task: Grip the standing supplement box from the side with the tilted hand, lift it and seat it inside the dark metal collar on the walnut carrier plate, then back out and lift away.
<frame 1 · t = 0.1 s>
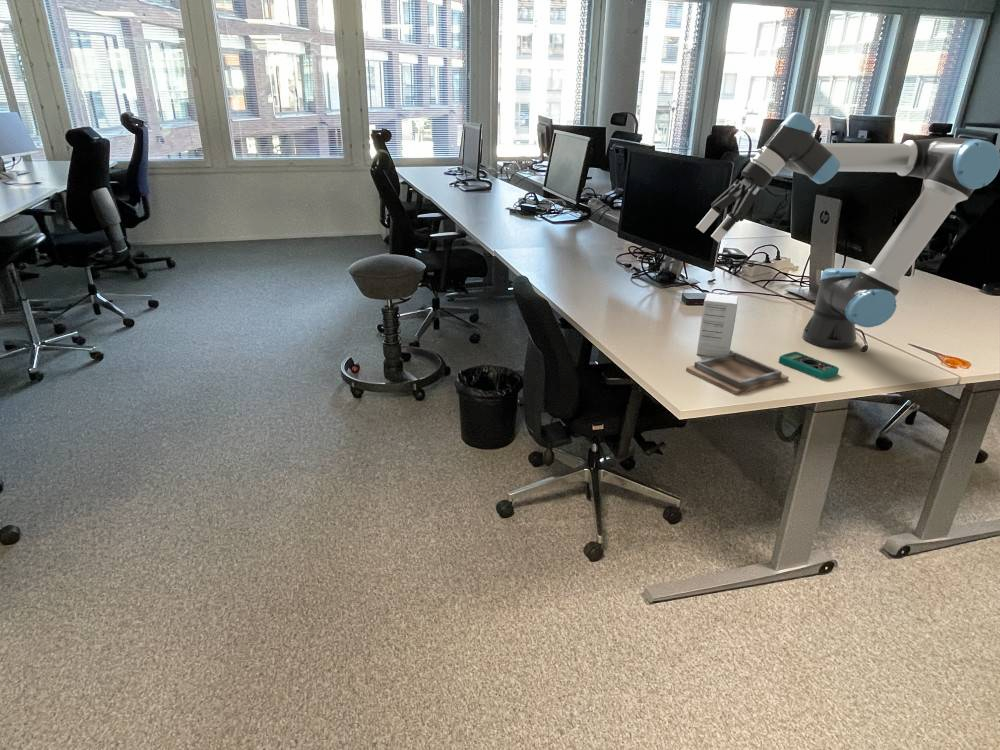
hand: (706, 234, 174), 36 cm above the table, tool tilted 35°, fingers open, 13 cm apart
digital multimeter: (806, 370, 180), on the table
carrier plate: (736, 375, 175), on the table
supplement box: (713, 352, 191), on the table
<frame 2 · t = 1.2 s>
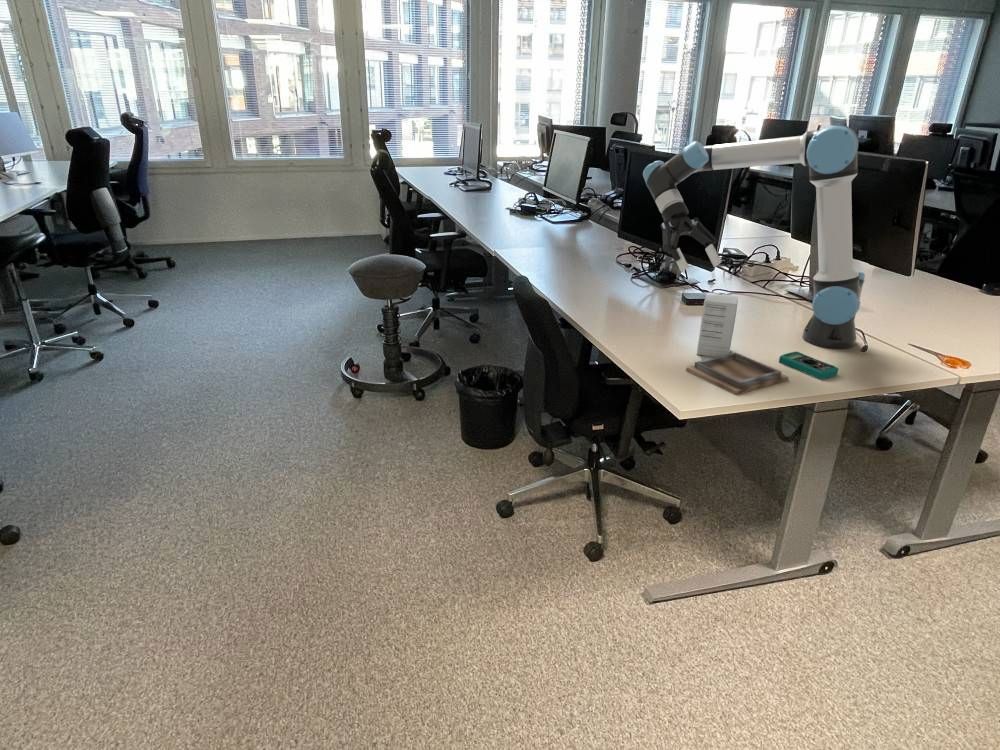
hand: (701, 267, 189), 24 cm above the table, tool tilted 45°, fingers open, 13 cm apart
nothing on the table moved.
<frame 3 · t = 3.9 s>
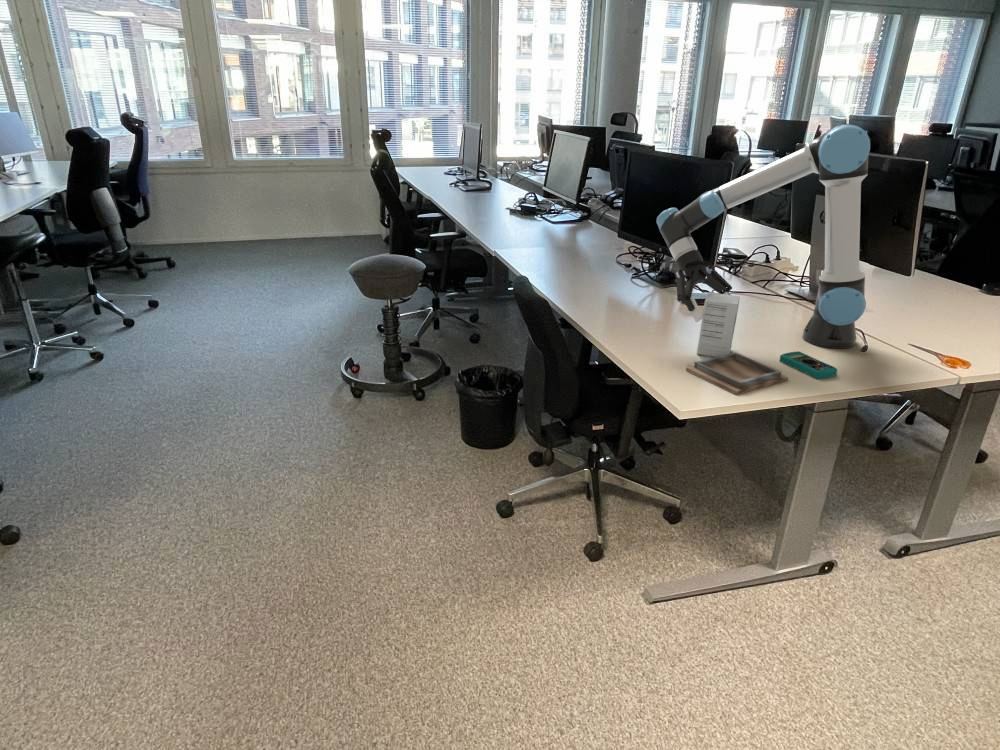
hand: (716, 316, 187), 11 cm above the table, tool tilted 45°, fingers open, 13 cm apart
supplement box: (713, 352, 191), on the table, touching gripper
everything else where it was.
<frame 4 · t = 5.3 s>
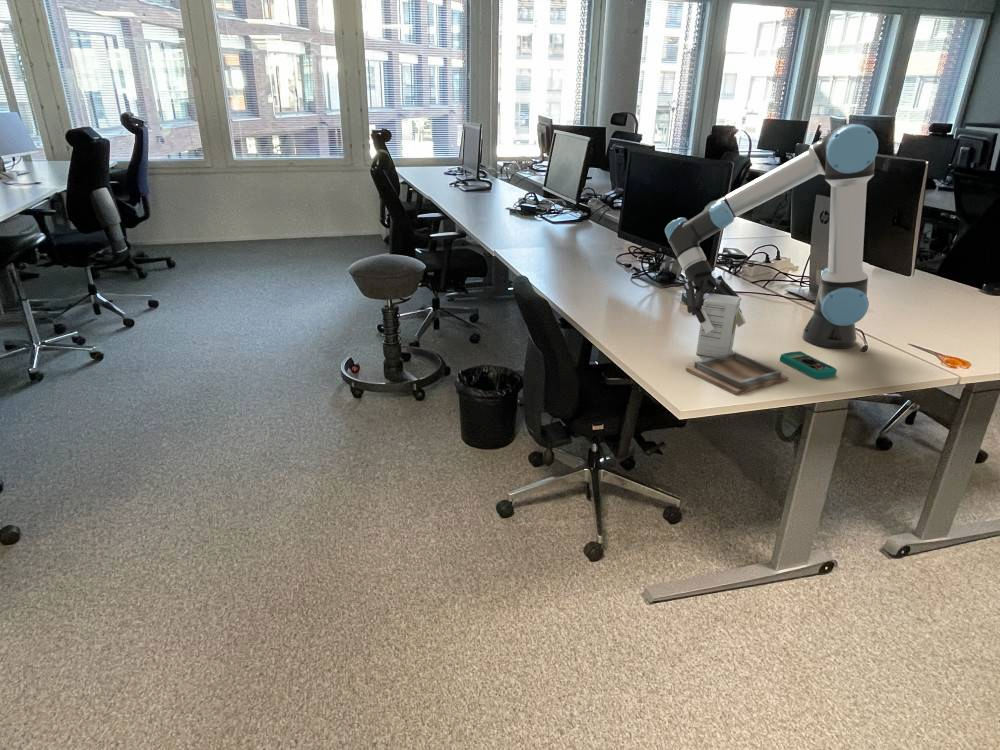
hand: (726, 328, 185), 9 cm above the table, tool tilted 45°, fingers closed on supplement box, 12 cm apart
supplement box: (714, 352, 191), on the table, touching gripper
everything else where it was.
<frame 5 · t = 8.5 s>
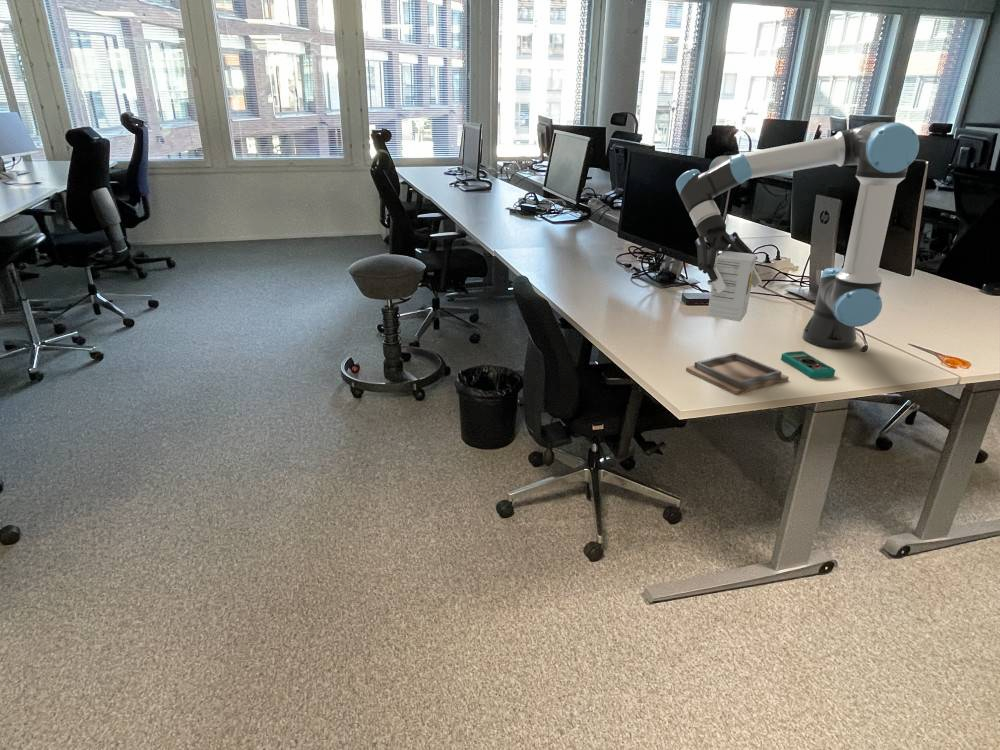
hand: (740, 287, 171), 23 cm above the table, tool tilted 45°, fingers closed on supplement box, 12 cm apart
supplement box: (726, 315, 177), point 14 cm above the table, touching gripper
when the fingers open (12 cm above the table, at t = 11.9 s): supplement box drops 2 cm, resting on carrier plate.
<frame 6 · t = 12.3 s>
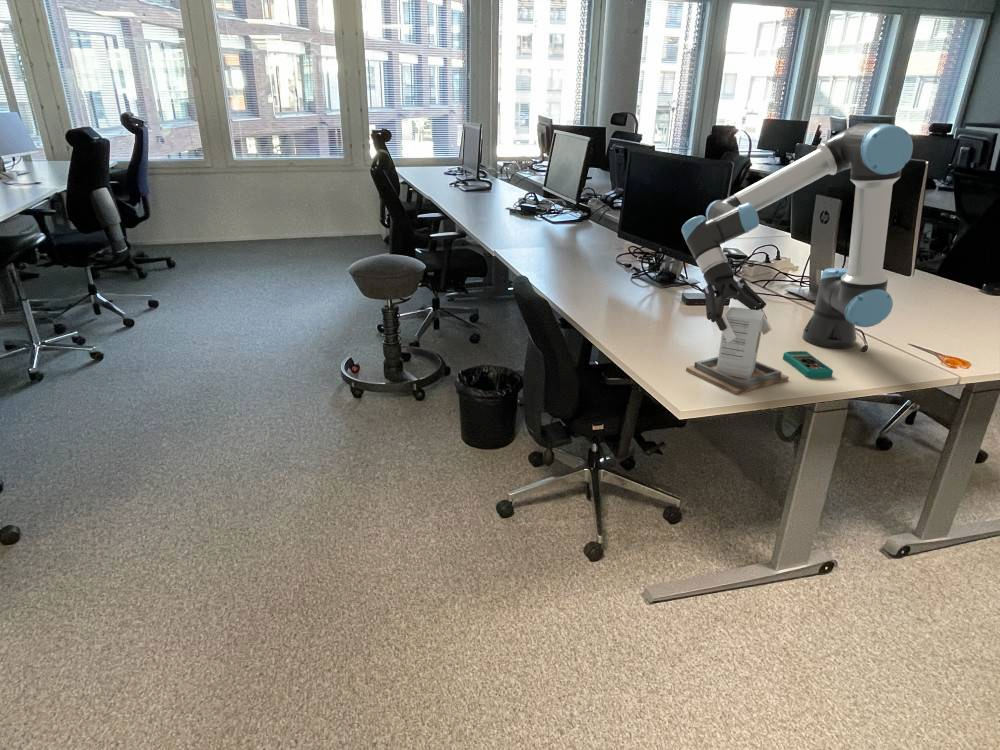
hand: (750, 336, 168), 12 cm above the table, tool tilted 45°, fingers open, 13 cm apart
supplement box: (735, 371, 175), point 1 cm above the table, touching carrier plate, gripper
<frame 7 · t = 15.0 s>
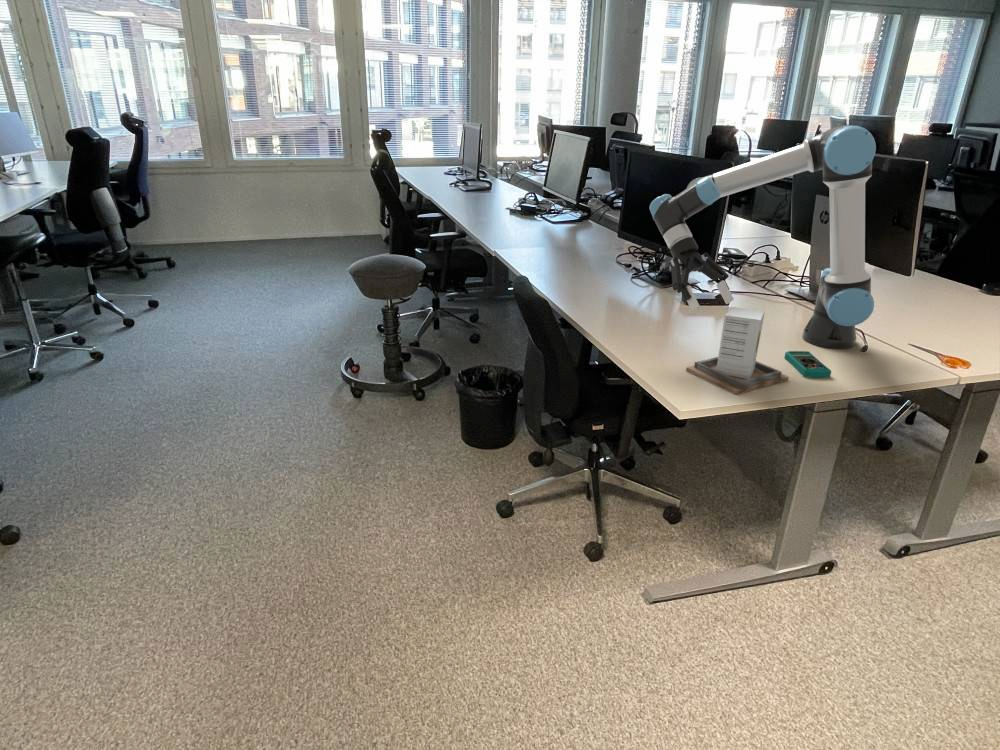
hand: (713, 305, 180), 16 cm above the table, tool tilted 45°, fingers open, 13 cm apart
supplement box: (735, 371, 175), point 1 cm above the table, touching carrier plate
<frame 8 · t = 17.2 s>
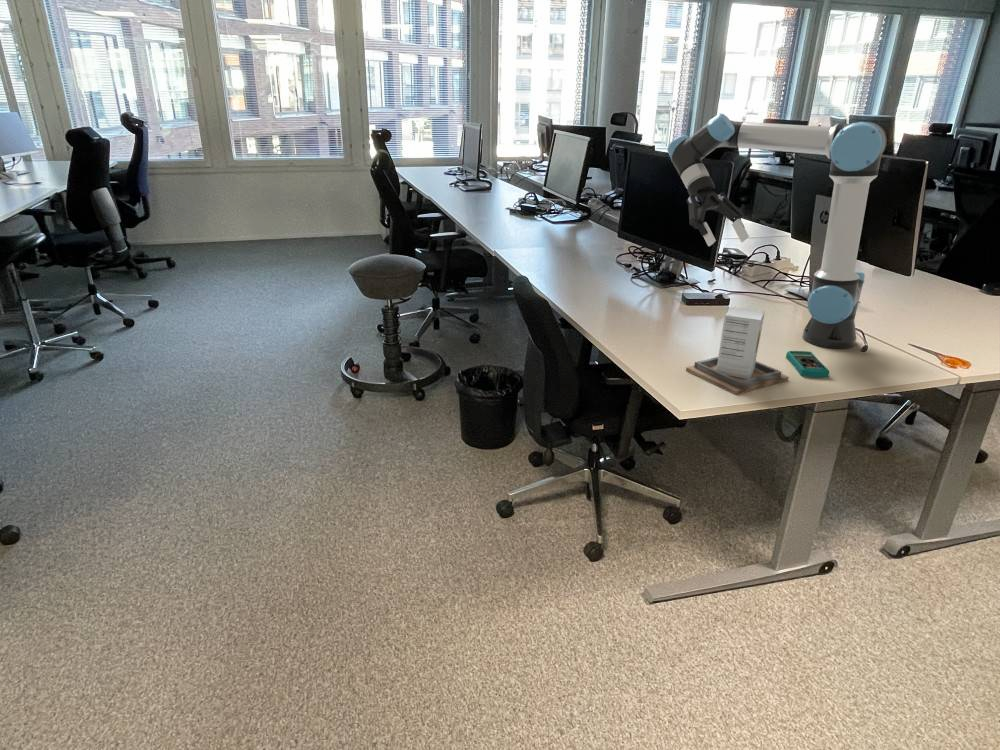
hand: (729, 241, 186), 32 cm above the table, tool tilted 45°, fingers open, 13 cm apart
at the end: supplement box inside the target area on the carrier plate (0.7 cm from its centre), point 0.8 cm above the carrier plate's base; supplement box tilted 0°; the gripper is holding nothing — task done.
